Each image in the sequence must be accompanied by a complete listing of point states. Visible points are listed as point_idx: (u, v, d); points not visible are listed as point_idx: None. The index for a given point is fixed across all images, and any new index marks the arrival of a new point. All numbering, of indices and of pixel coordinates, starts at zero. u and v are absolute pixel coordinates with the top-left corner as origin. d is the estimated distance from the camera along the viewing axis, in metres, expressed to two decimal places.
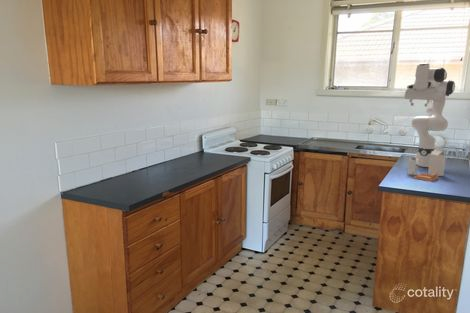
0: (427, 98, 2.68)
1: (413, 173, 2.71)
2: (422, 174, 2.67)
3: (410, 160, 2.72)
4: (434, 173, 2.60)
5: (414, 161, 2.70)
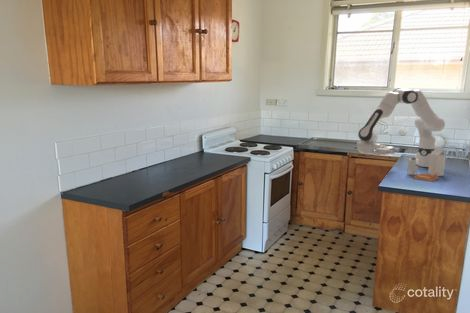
0: (385, 154, 2.79)
1: (413, 173, 2.71)
2: (422, 174, 2.67)
3: (410, 160, 2.72)
4: (434, 173, 2.60)
5: (414, 161, 2.70)
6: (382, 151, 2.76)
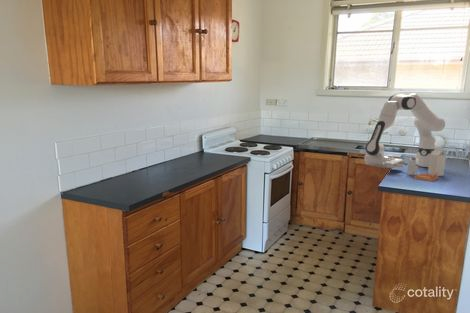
0: None
1: (413, 173, 2.71)
2: (422, 174, 2.67)
3: (410, 160, 2.72)
4: (434, 173, 2.60)
5: (414, 161, 2.70)
6: (390, 164, 2.74)
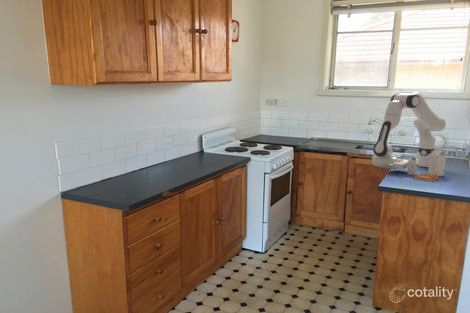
0: None
1: (413, 173, 2.71)
2: (422, 174, 2.67)
3: (410, 160, 2.72)
4: (434, 173, 2.60)
5: (414, 161, 2.70)
6: (399, 166, 2.70)
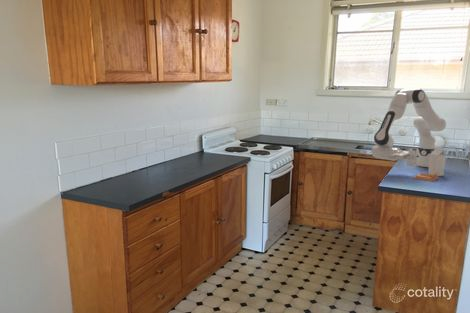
0: (403, 159, 2.65)
1: (413, 164, 2.63)
2: (422, 174, 2.67)
3: (411, 151, 2.64)
4: (434, 173, 2.60)
5: (415, 152, 2.62)
6: (399, 156, 2.62)
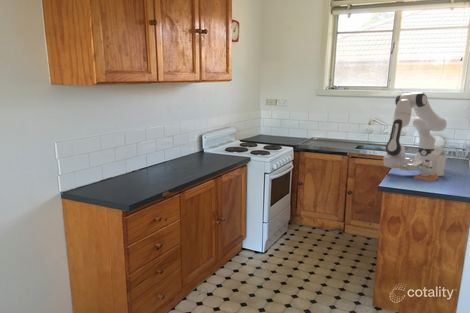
0: None
1: (427, 176, 2.59)
2: None
3: (424, 162, 2.59)
4: (434, 173, 2.60)
5: (428, 163, 2.57)
6: (413, 167, 2.57)
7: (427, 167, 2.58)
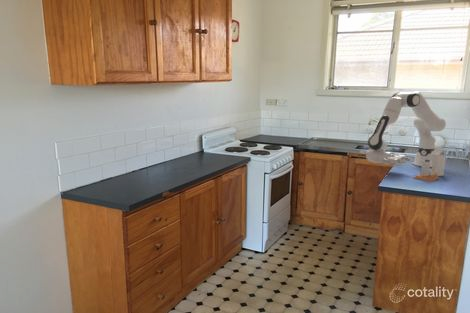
0: None
1: (427, 176, 2.59)
2: None
3: (424, 162, 2.59)
4: (434, 173, 2.60)
5: (428, 163, 2.57)
6: (393, 160, 2.66)
7: (427, 167, 2.58)
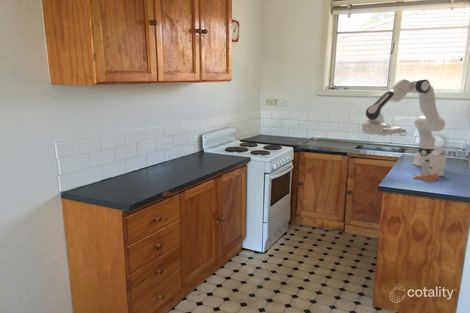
0: (392, 133, 2.73)
1: (427, 176, 2.59)
2: None
3: (424, 162, 2.59)
4: (434, 173, 2.60)
5: (428, 163, 2.57)
6: (388, 131, 2.70)
7: (427, 167, 2.58)
